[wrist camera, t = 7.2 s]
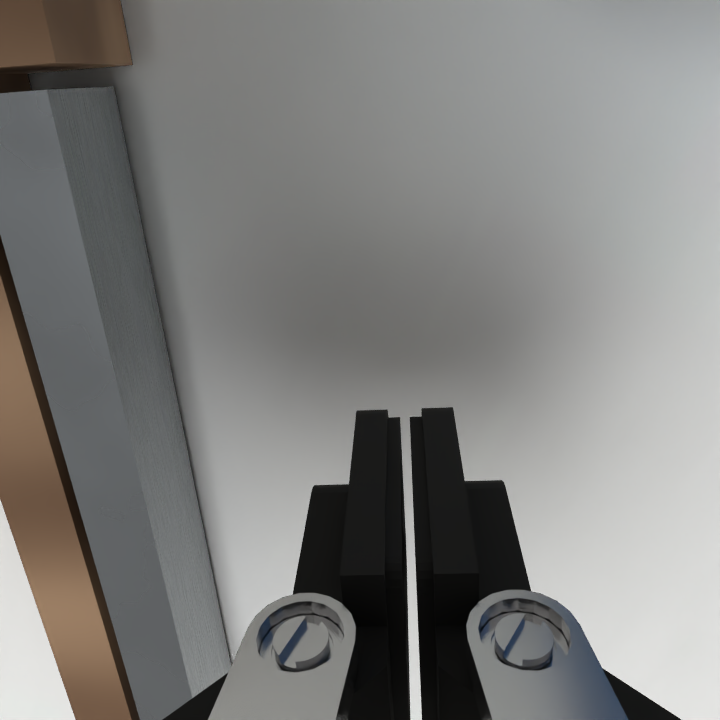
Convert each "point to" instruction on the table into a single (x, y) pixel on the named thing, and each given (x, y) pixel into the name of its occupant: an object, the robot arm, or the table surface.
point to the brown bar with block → (30, 404)
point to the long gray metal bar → (110, 383)
